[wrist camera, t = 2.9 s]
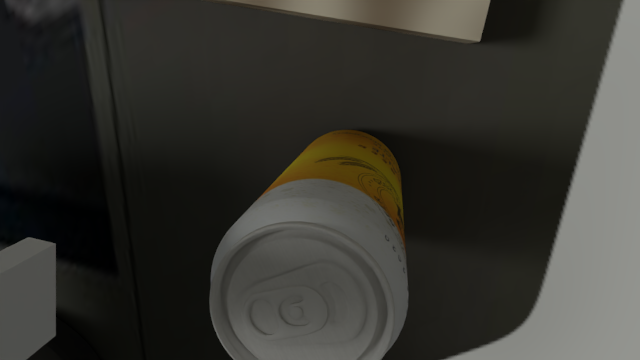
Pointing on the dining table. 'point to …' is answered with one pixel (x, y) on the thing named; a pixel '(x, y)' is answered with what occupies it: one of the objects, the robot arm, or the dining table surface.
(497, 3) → the dining table surface
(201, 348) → the dining table surface
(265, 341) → the beer can
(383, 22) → the socket board
